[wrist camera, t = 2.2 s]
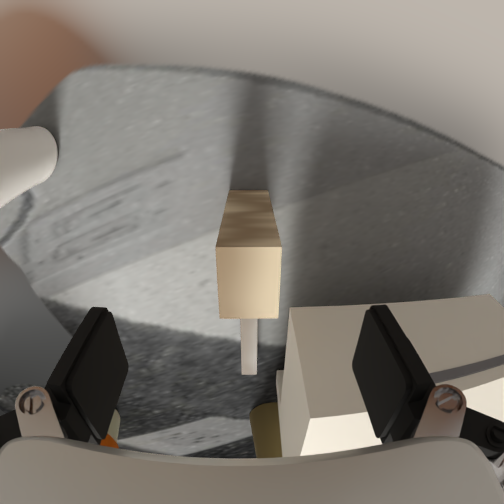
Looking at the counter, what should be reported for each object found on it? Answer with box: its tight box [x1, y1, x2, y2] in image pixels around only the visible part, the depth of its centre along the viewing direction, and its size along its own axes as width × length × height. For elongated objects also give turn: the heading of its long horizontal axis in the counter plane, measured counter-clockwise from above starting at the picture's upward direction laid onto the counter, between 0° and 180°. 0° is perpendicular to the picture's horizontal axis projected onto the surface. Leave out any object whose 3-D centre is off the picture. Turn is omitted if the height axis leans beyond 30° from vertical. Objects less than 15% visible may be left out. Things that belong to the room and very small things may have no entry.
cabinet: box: [276, 294, 504, 457], centre depth 24 cm, size 20×14×15 cm
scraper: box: [216, 190, 282, 375], centre depth 23 cm, size 3×18×11 cm, turn 0°
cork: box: [250, 402, 282, 458], centre depth 31 cm, size 6×6×11 cm
